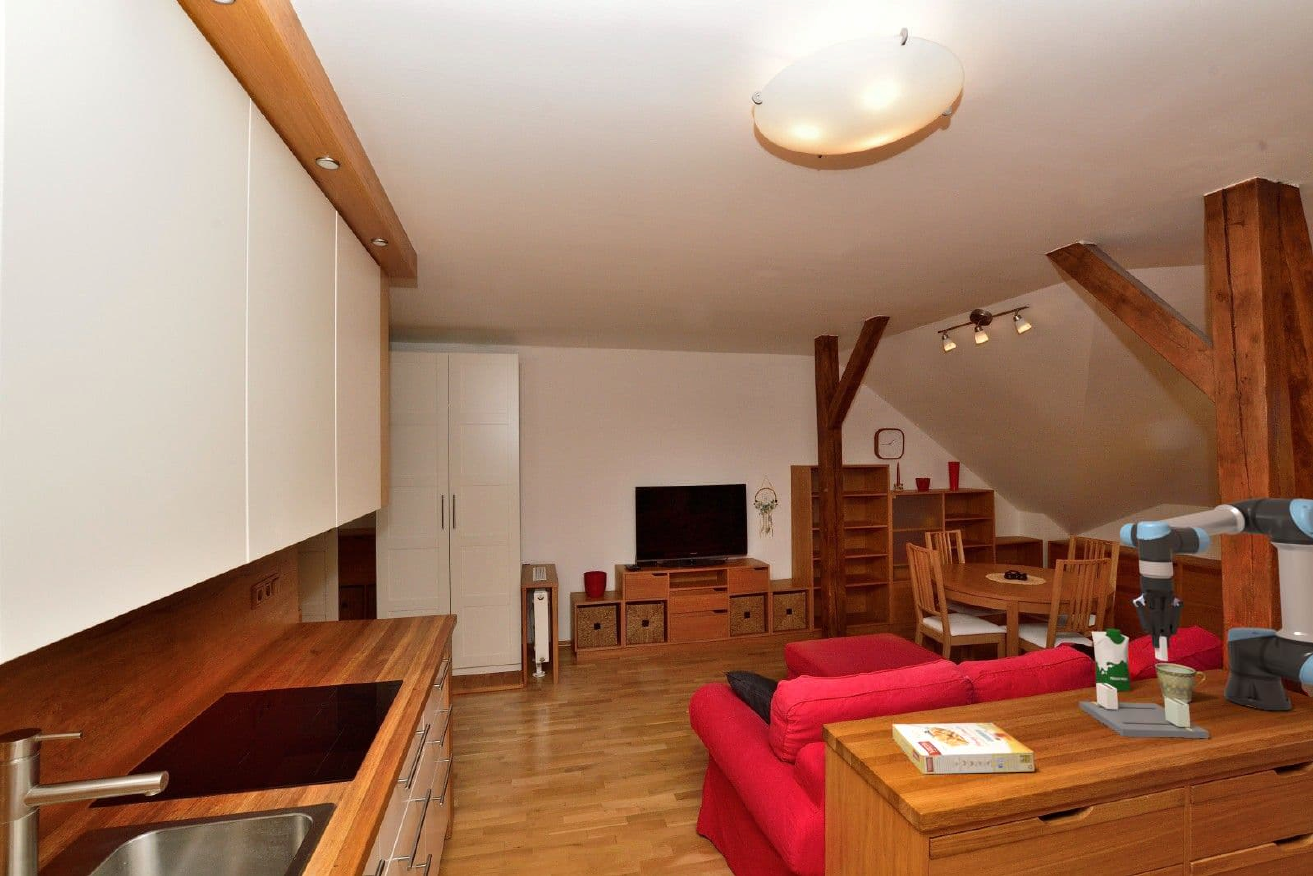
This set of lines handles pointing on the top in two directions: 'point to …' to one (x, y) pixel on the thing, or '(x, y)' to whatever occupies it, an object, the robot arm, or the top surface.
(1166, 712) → the fader
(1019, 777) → the top surface
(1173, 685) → the ceramic cup
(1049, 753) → the top surface
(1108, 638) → the milk carton
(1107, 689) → the block
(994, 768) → the cereal box
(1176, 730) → the console
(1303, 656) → the robot arm
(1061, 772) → the top surface
